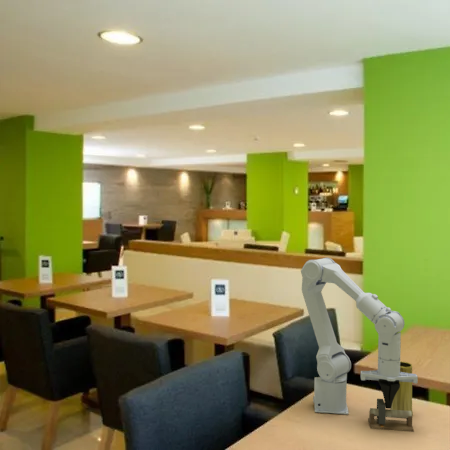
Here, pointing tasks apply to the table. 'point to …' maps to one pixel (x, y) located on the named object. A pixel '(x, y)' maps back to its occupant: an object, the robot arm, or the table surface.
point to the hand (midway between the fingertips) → (388, 407)
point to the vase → (404, 391)
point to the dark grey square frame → (381, 411)
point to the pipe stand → (391, 423)
